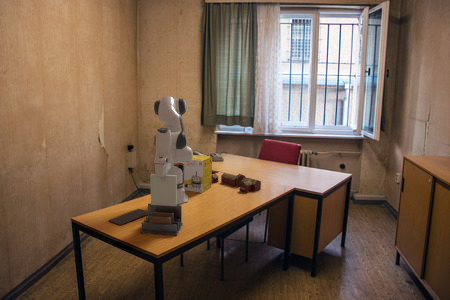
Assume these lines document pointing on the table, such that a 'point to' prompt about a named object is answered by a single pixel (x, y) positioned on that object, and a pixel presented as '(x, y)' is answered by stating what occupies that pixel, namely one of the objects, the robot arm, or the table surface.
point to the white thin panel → (164, 190)
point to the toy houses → (238, 182)
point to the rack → (163, 228)
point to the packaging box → (198, 174)
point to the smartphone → (129, 217)
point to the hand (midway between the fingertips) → (163, 180)
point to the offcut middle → (163, 215)
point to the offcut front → (160, 220)
